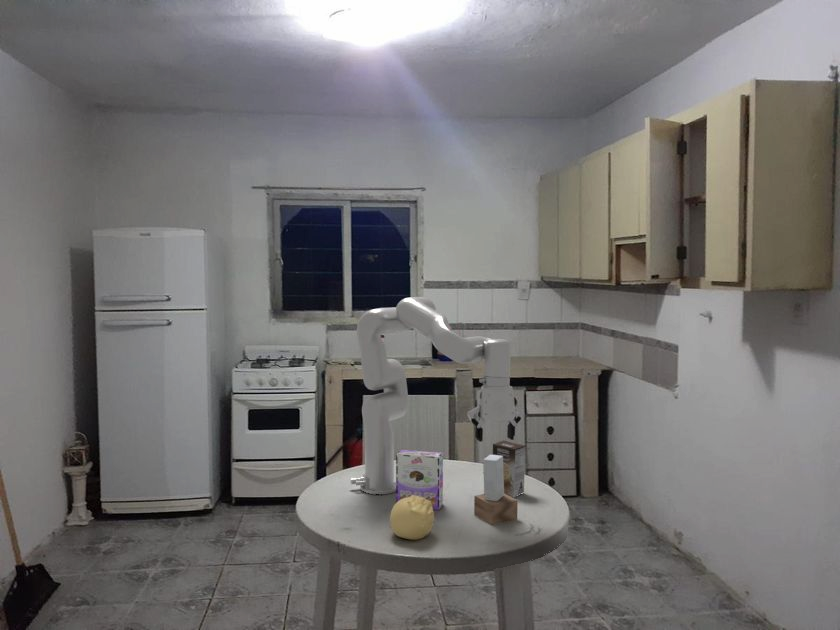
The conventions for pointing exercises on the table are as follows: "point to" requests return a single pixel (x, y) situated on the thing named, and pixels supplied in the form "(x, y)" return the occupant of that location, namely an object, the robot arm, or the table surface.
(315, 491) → the table surface
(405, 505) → the pale yellow round lump
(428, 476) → the candy box
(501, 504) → the brown cardboard box
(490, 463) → the skincare box
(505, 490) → the coffee box
